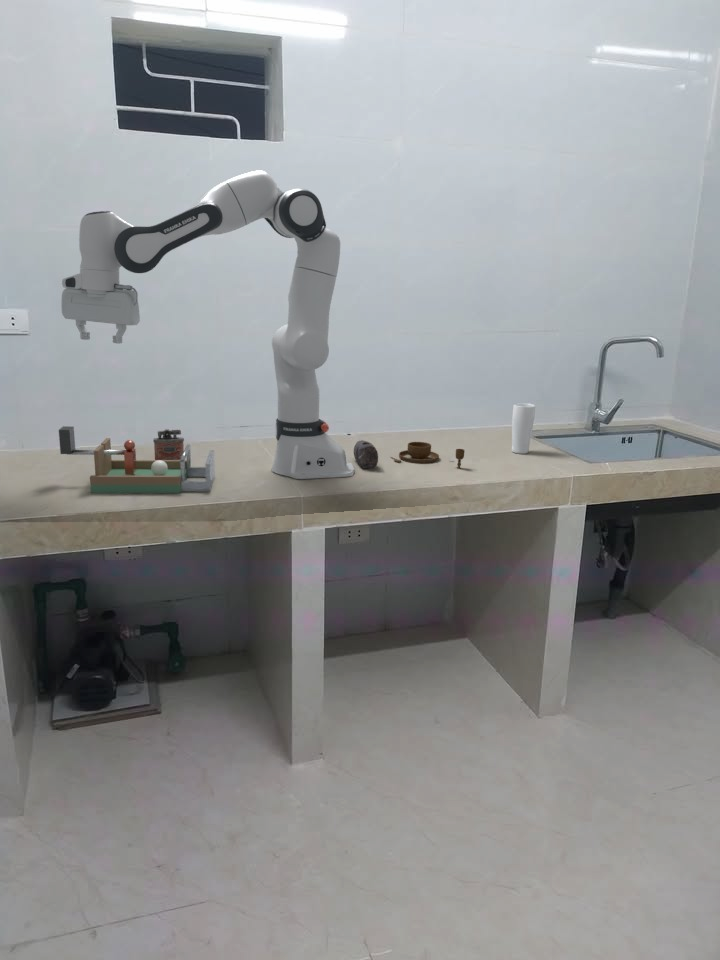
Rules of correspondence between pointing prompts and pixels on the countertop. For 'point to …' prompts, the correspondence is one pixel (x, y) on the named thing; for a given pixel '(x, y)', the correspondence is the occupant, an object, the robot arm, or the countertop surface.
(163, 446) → the lighter
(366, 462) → the perforated stone tool
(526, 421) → the drinking glass
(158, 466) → the ball
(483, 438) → the countertop surface
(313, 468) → the robot arm
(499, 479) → the countertop surface
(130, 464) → the rod
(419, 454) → the place setting
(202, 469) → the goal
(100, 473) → the pitch
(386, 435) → the countertop surface
